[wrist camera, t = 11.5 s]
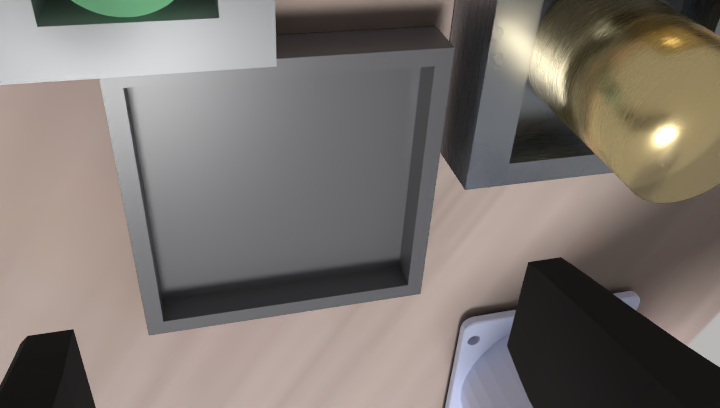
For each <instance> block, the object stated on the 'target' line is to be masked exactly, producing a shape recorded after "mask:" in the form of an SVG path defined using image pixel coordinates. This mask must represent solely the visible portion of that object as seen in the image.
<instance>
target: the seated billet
mask: <svg viewBox="0 0 720 408" xmlns="http://www.w3.org/2000/svg"><path fill="white" fill-rule="evenodd" d="M528 80H529V83H530V85H531V87H532V89H533V91H534V92H535V94H536V95H537V96H538V97H539V98H540V99H541V100H542V101H543V102H544V103H545V104H546V105H547V106H548V107H549V108H550V109H551V110H552V111H553V112H554V113H555V114H556V115H557V116H558V117H559V118H560V119H561V120H562V121H563V122H564V123H565V124H566V125H567V126H568V127H569V128H570V129H571V130H572V131H573V132H574V133H575V134H576V135H577V136H578V137H579V138H580V139H581V140H582V141H583V142H584V143H585V144H586V145H587V146H588V147H589V148H590V149H591V150H592V151H593V152H594V153H595V154H596V155H597V156H598V157H599V158H600V159H601V160H602V161H603V162H604V163H605V164H606V165H607V166H608V167H609V168H610V169H611V170H612V171H613V172H614V173H615V174H616V175H617V176H618V177H619V178H620V179H621V180H622V181H623V182H624V183H625V184H626V185H627V186H628V187H629V188H630V189H631V190H632V191H633V192H634V193H635V194H636V195H637V196H639V197H640V198H642V199H645V200H647V201H651V202H656V203H672V202H678V201H683V200H686V199H689V198H692V197H695V196H697V195H700V194H702V193H704V192H706V191H708V190H710V189H712V188H713V187H715V186H717V185H718V184H720V36H719V35H717V34H716V33H714V32H712V31H711V30H709V29H707V28H705V27H704V26H702V25H700V24H699V23H697V22H695V21H694V20H692V19H690V18H688V17H687V16H685V15H683V14H682V13H680V12H678V11H677V10H675V9H673V8H672V7H670V6H668V5H666V4H665V3H663V2H661V1H660V0H559V1H558V2H557V3H556V4H555V5H554V6H553V7H552V8H551V9H550V10H549V11H548V13H547V14H546V15H545V16H544V18H543V19H542V21H541V22H540V24H539V25H538V29H537V34H536V39H535V44H534V48H533V53H532V58H531V62H530V67H529V72H528Z"/></svg>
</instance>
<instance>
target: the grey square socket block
mask: <svg viewBox="0 0 720 408" xmlns="http://www.w3.org/2000/svg"><path fill="white" fill-rule="evenodd" d="M263 67H277V60H276V20H275V0H174V1H172V2H171V3H170V4H168V5H167V6H165V7H163V8H161V9H160V10H158V11H155V12H152V13H150V14H146V15H142V16H137V17H113V16H107V15H103V14H99V13H95V12H93V11H90V10H88V9H85V8H83V7H81V6H80V5H78V4H76V3H74V2H73V1H71V0H0V85H7V84H22V83H37V82H52V81H67V80H82V79H97V78H112V77H127V76H142V75H157V74H172V73H188V72H203V71H218V70H233V69H248V68H263Z"/></svg>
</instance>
